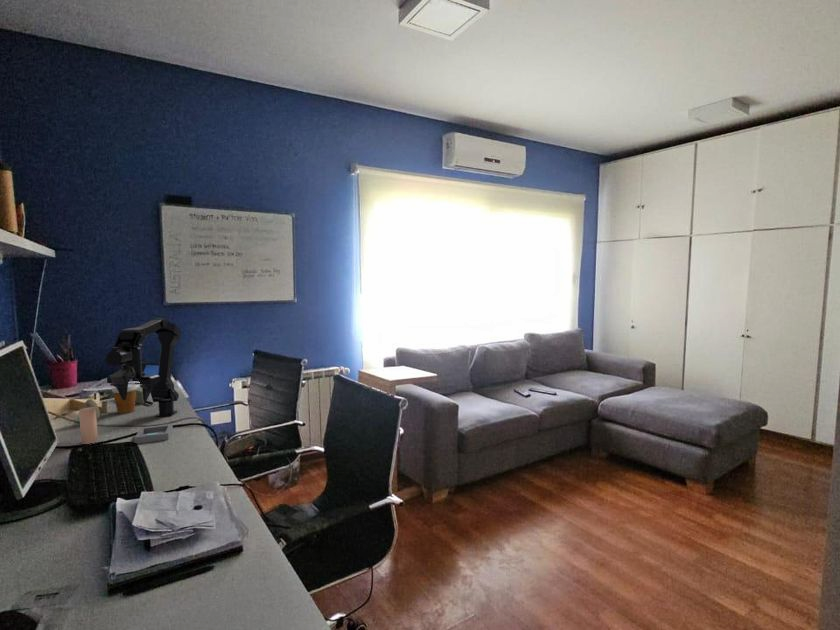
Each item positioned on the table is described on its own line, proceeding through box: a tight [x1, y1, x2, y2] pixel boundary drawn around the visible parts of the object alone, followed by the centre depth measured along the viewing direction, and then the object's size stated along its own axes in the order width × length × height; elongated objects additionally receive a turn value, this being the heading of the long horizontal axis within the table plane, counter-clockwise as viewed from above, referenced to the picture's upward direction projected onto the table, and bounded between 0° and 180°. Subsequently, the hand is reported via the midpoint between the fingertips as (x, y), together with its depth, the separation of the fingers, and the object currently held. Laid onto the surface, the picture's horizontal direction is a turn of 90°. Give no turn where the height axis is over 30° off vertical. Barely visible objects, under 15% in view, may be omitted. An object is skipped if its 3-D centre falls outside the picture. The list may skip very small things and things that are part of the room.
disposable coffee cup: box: [111, 383, 138, 415], centre depth 189 cm, size 10×10×12 cm
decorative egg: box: [82, 399, 101, 421], centre depth 175 cm, size 6×6×10 cm
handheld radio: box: [135, 387, 154, 406], centre depth 205 cm, size 7×3×25 cm
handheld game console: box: [142, 362, 159, 377], centre depth 245 cm, size 16×13×9 cm
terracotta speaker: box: [78, 407, 99, 445], centre depth 154 cm, size 5×5×12 cm
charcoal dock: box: [134, 423, 174, 444], centre depth 160 cm, size 11×11×3 cm
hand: (134, 400), depth 165 cm, fingers open, 9 cm apart
